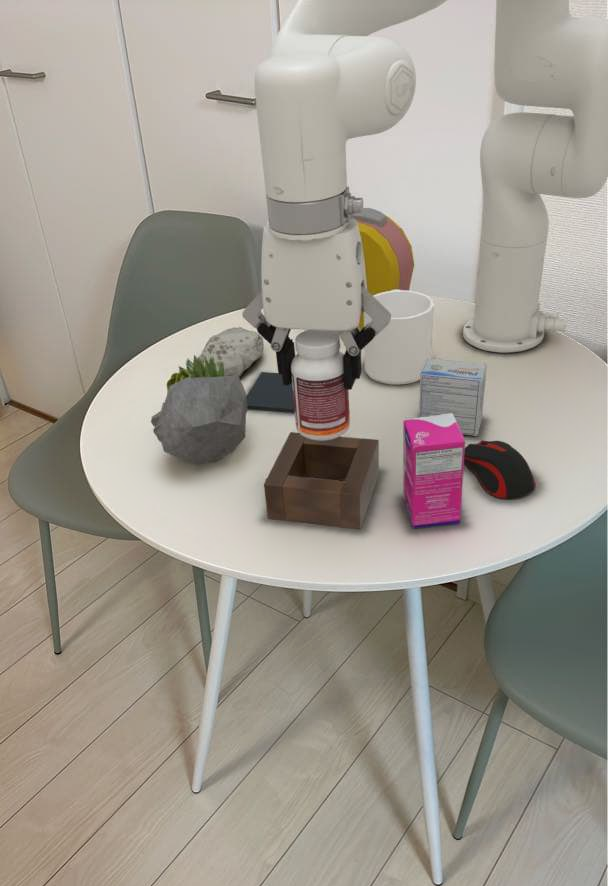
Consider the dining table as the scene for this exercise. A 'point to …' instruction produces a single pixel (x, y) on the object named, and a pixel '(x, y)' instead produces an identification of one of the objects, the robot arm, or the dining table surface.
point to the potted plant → (202, 413)
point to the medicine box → (454, 392)
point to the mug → (401, 338)
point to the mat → (271, 394)
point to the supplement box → (433, 470)
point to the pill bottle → (319, 386)
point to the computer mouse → (499, 469)
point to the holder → (323, 480)
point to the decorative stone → (234, 350)
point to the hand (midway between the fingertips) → (320, 379)
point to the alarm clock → (384, 254)
